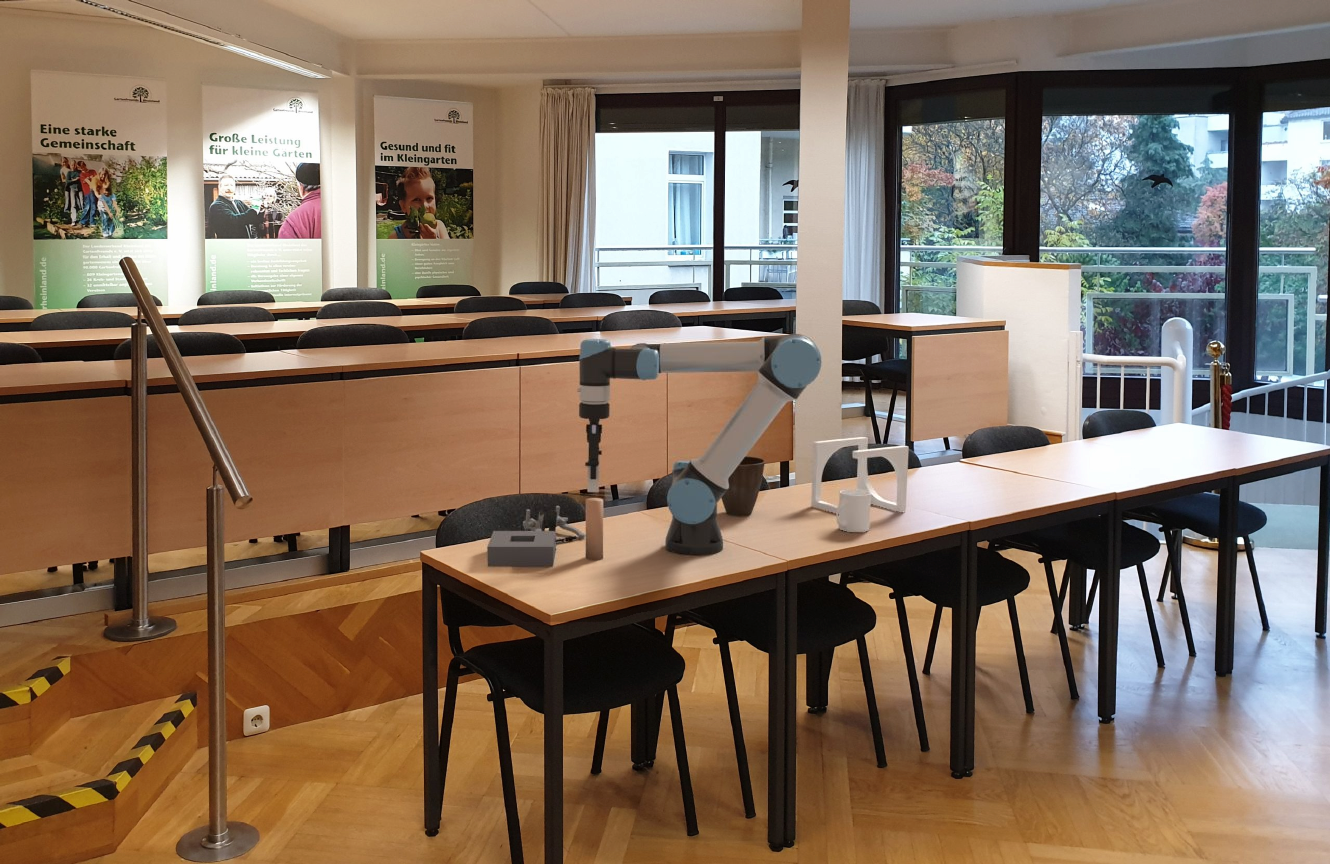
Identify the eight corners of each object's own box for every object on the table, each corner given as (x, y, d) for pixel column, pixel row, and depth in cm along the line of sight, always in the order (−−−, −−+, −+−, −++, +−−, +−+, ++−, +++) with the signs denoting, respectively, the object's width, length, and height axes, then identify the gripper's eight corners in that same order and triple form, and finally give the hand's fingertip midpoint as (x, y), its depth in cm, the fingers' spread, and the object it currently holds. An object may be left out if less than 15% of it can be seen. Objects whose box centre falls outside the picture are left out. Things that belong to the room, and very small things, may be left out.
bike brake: (516, 531, 322) (553, 558, 307) (518, 507, 321) (556, 533, 305) (559, 525, 330) (598, 551, 315) (561, 502, 329) (600, 527, 313)
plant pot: (713, 518, 343) (714, 464, 341) (713, 507, 358) (713, 455, 356) (764, 519, 343) (766, 465, 340) (762, 508, 358) (763, 456, 355)
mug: (823, 530, 331) (825, 493, 329) (851, 524, 338) (853, 487, 337) (847, 536, 324) (849, 498, 323) (875, 530, 332) (877, 492, 330)
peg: (603, 555, 301) (603, 498, 299) (603, 560, 297) (603, 501, 295) (585, 555, 301) (585, 497, 299) (585, 560, 297) (585, 501, 295)
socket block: (555, 549, 307) (555, 530, 306) (553, 566, 291) (553, 546, 290) (493, 549, 306) (493, 530, 305) (487, 566, 290) (487, 546, 289)
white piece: (905, 512, 355) (908, 446, 352) (854, 519, 345) (857, 452, 342) (861, 499, 372) (863, 436, 369) (811, 506, 361) (813, 441, 358)
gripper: (580, 395, 305) (579, 476, 308) (578, 408, 280) (577, 496, 284) (609, 395, 305) (608, 476, 309) (609, 409, 281) (608, 496, 284)
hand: (593, 486), depth 296 cm, fingers open, 13 cm apart
